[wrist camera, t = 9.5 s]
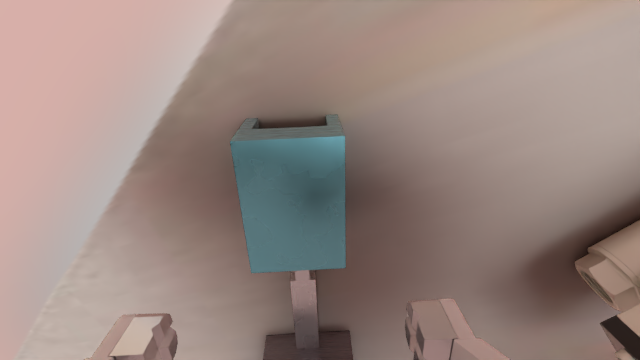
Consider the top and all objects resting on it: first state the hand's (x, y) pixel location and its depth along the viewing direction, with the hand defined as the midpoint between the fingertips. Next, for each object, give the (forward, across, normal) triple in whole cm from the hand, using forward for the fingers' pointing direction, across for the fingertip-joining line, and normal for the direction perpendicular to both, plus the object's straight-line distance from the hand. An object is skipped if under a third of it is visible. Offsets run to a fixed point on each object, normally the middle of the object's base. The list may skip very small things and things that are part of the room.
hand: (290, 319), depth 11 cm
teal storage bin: (+11, 0, -1) cm, 11 cm away
